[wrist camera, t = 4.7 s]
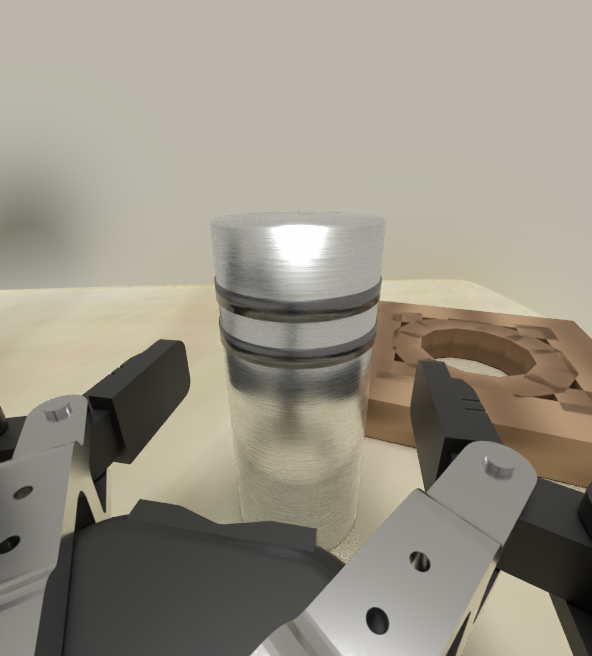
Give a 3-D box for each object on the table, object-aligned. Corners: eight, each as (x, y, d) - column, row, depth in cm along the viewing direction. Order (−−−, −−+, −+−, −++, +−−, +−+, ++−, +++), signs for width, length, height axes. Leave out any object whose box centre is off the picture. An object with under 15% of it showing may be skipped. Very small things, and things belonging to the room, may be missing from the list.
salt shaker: (215, 532, 14) (167, 226, 9) (269, 443, 18) (257, 209, 13) (343, 581, 12) (373, 236, 7) (367, 470, 16) (395, 213, 12)
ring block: (327, 427, 19) (329, 390, 18) (370, 323, 33) (372, 299, 32) (691, 512, 14) (721, 468, 13) (563, 348, 28) (573, 320, 27)
